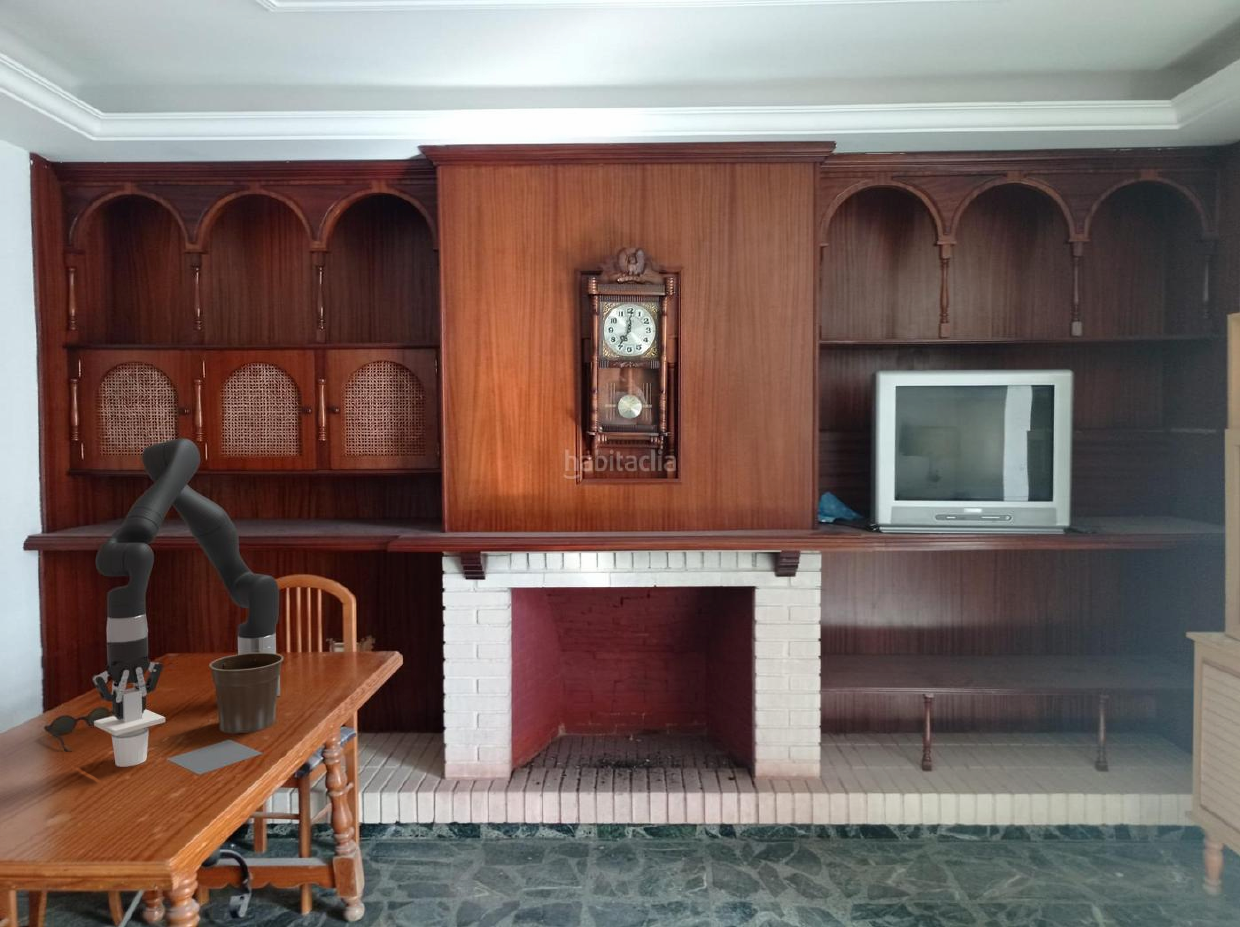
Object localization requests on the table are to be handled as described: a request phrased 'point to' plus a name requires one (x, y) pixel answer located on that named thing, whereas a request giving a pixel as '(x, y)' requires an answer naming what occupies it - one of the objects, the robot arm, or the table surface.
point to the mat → (214, 756)
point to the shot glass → (130, 747)
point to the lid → (130, 715)
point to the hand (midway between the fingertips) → (129, 715)
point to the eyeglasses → (69, 723)
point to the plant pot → (246, 691)
